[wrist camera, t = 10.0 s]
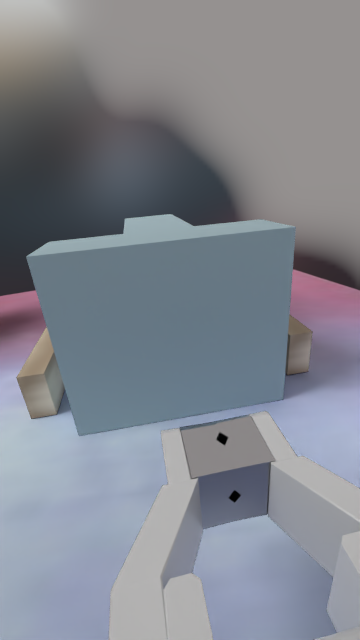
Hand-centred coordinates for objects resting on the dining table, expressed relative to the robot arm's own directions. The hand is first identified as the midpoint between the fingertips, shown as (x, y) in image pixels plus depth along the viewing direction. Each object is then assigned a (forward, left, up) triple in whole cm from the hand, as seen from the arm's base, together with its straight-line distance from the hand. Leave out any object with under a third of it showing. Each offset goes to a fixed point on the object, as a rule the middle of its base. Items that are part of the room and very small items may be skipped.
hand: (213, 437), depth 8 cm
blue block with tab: (0, +14, -6) cm, 15 cm away
